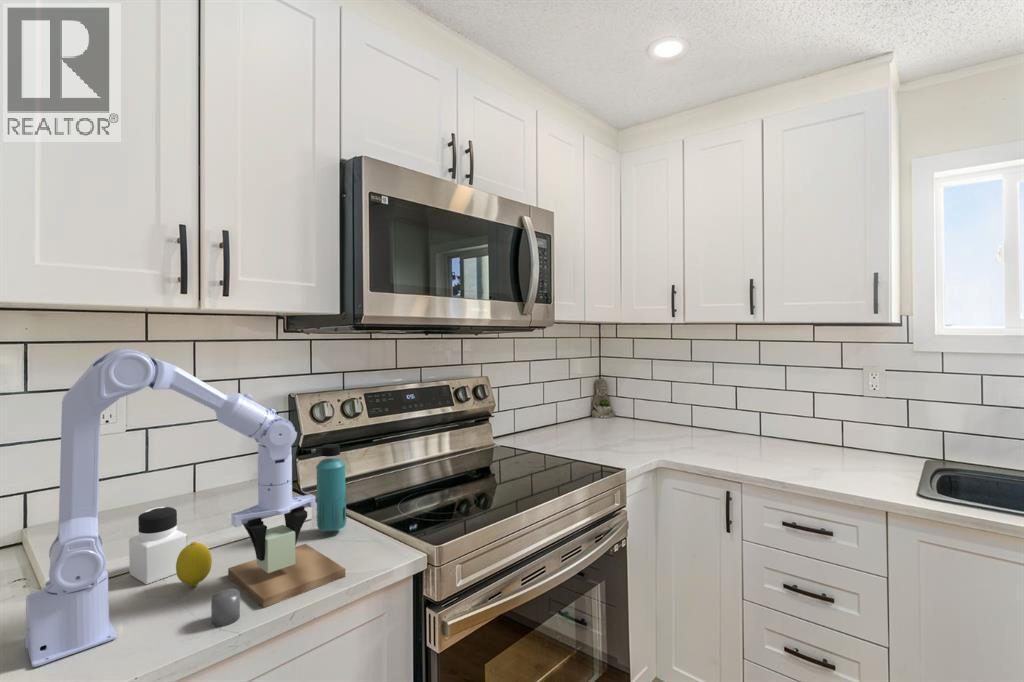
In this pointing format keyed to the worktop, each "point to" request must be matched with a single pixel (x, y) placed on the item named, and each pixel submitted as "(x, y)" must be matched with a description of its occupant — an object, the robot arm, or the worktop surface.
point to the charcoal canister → (225, 607)
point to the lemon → (193, 563)
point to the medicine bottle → (156, 545)
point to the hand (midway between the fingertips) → (275, 554)
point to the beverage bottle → (331, 490)
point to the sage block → (278, 549)
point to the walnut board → (286, 576)
